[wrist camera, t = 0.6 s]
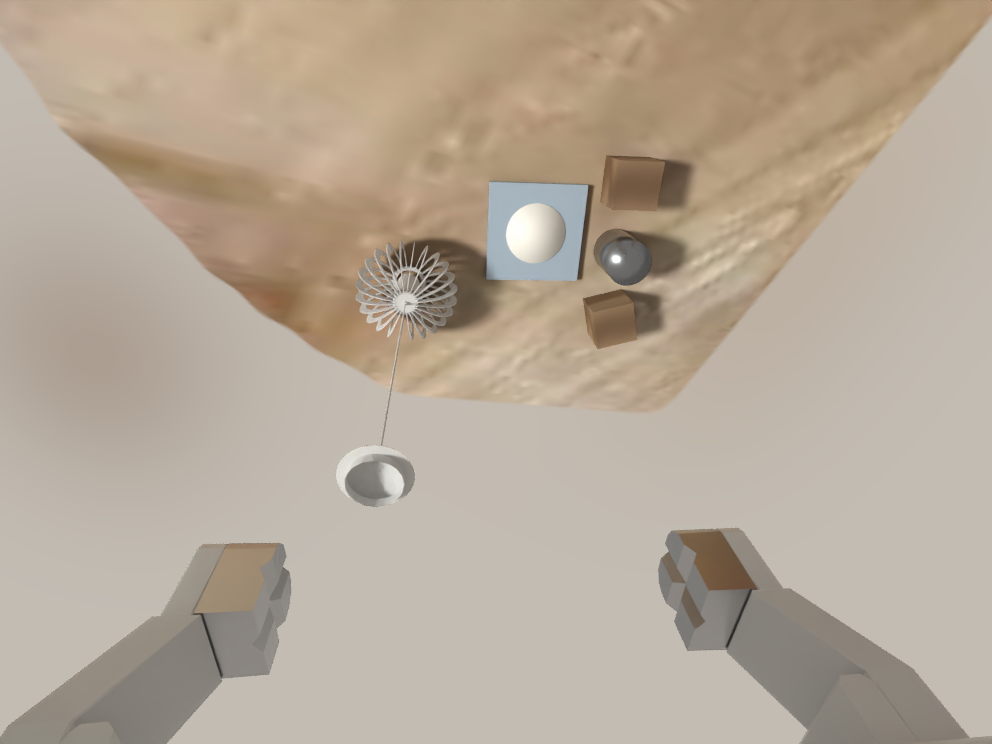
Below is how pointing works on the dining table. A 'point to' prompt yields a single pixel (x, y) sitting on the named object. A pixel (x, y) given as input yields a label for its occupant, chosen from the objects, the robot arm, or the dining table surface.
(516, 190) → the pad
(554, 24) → the dining table surface
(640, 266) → the metal cylinder
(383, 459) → the pendant light
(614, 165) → the walnut cube
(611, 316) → the walnut cube
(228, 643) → the robot arm
